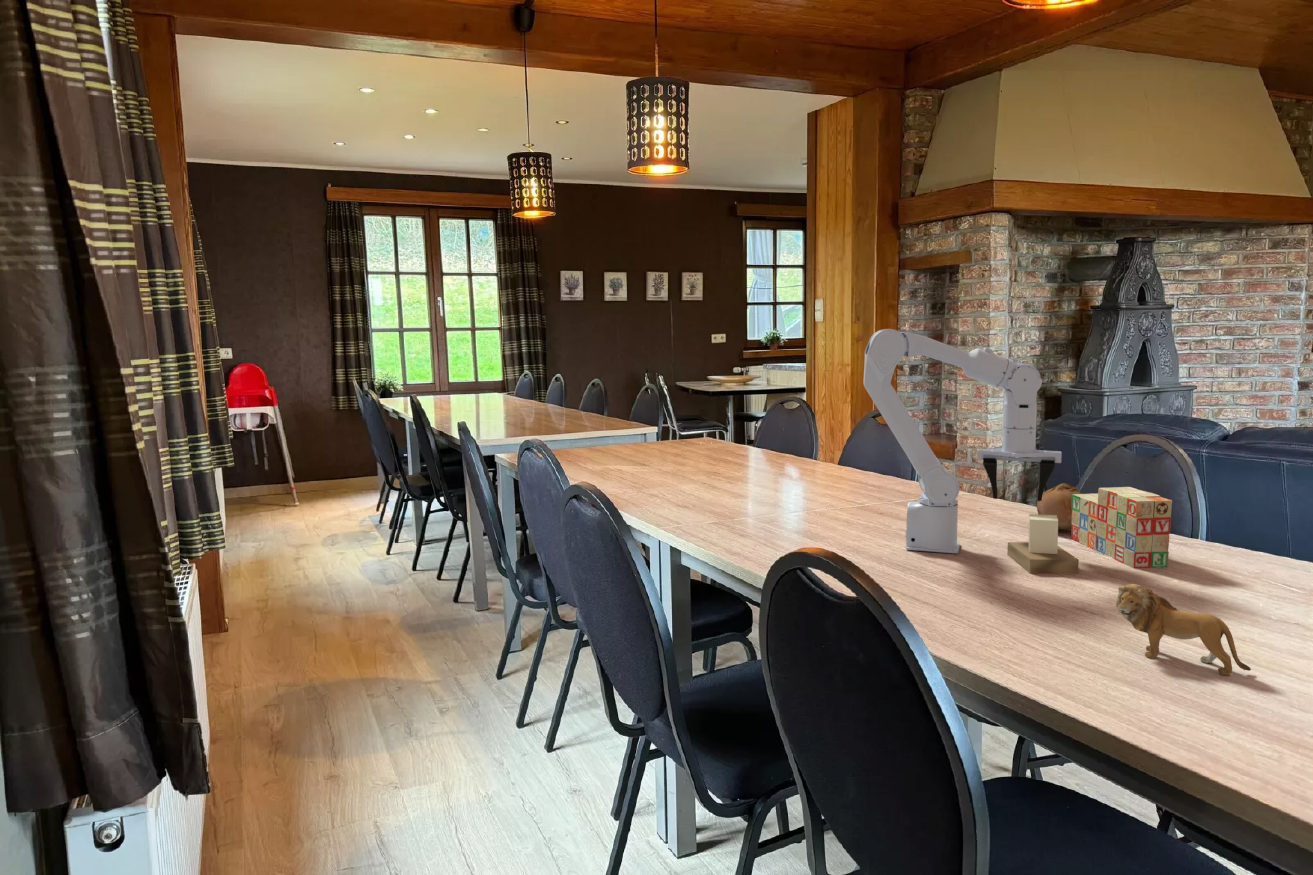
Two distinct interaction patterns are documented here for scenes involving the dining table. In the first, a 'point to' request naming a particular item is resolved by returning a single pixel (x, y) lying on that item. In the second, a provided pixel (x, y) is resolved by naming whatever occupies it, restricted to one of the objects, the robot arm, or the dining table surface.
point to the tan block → (1042, 560)
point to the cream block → (1043, 534)
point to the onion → (1058, 504)
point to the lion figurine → (1175, 625)
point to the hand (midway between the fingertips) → (1017, 498)
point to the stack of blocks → (1124, 525)
